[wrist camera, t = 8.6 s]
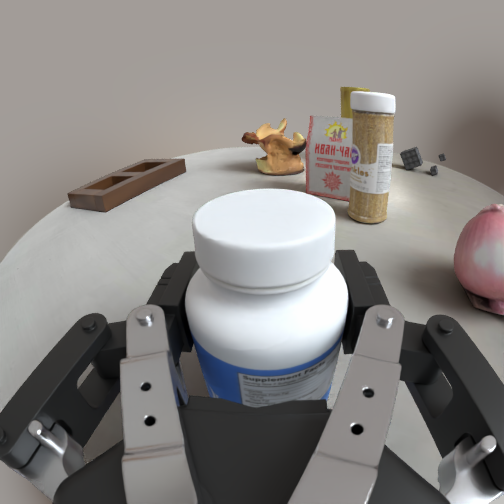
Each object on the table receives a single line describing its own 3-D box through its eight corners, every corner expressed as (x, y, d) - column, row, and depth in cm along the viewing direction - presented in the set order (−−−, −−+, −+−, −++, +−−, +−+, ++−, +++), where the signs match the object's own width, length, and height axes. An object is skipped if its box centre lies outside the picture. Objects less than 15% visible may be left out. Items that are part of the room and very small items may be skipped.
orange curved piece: (235, 171, 49) (231, 123, 45) (270, 159, 56) (268, 117, 51) (296, 182, 42) (295, 125, 38) (326, 168, 49) (326, 120, 45)
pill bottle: (209, 368, 15) (173, 190, 10) (306, 351, 16) (317, 175, 11) (221, 459, 11) (155, 275, 6) (340, 434, 11) (400, 240, 6)
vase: (356, 169, 48) (356, 87, 41) (331, 162, 52) (330, 86, 45) (377, 165, 50) (378, 89, 43) (353, 158, 55) (353, 88, 48)
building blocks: (402, 151, 49) (439, 139, 44) (412, 177, 51) (448, 167, 45) (400, 153, 47) (438, 141, 42) (410, 181, 48) (448, 171, 43)
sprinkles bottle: (339, 212, 32) (340, 90, 25) (368, 205, 34) (372, 92, 27) (366, 228, 29) (372, 91, 22) (395, 220, 30) (404, 95, 23)
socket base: (186, 171, 53) (184, 158, 51) (105, 212, 38) (101, 195, 37) (146, 171, 57) (144, 159, 56) (71, 207, 43) (67, 193, 41)
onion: (494, 266, 21) (514, 194, 17) (538, 319, 14) (573, 238, 11) (430, 272, 21) (448, 188, 18) (473, 338, 15) (514, 240, 11)
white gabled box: (317, 185, 41) (316, 114, 36) (363, 193, 37) (366, 119, 32) (306, 193, 38) (304, 116, 33) (355, 202, 35) (358, 120, 30)
